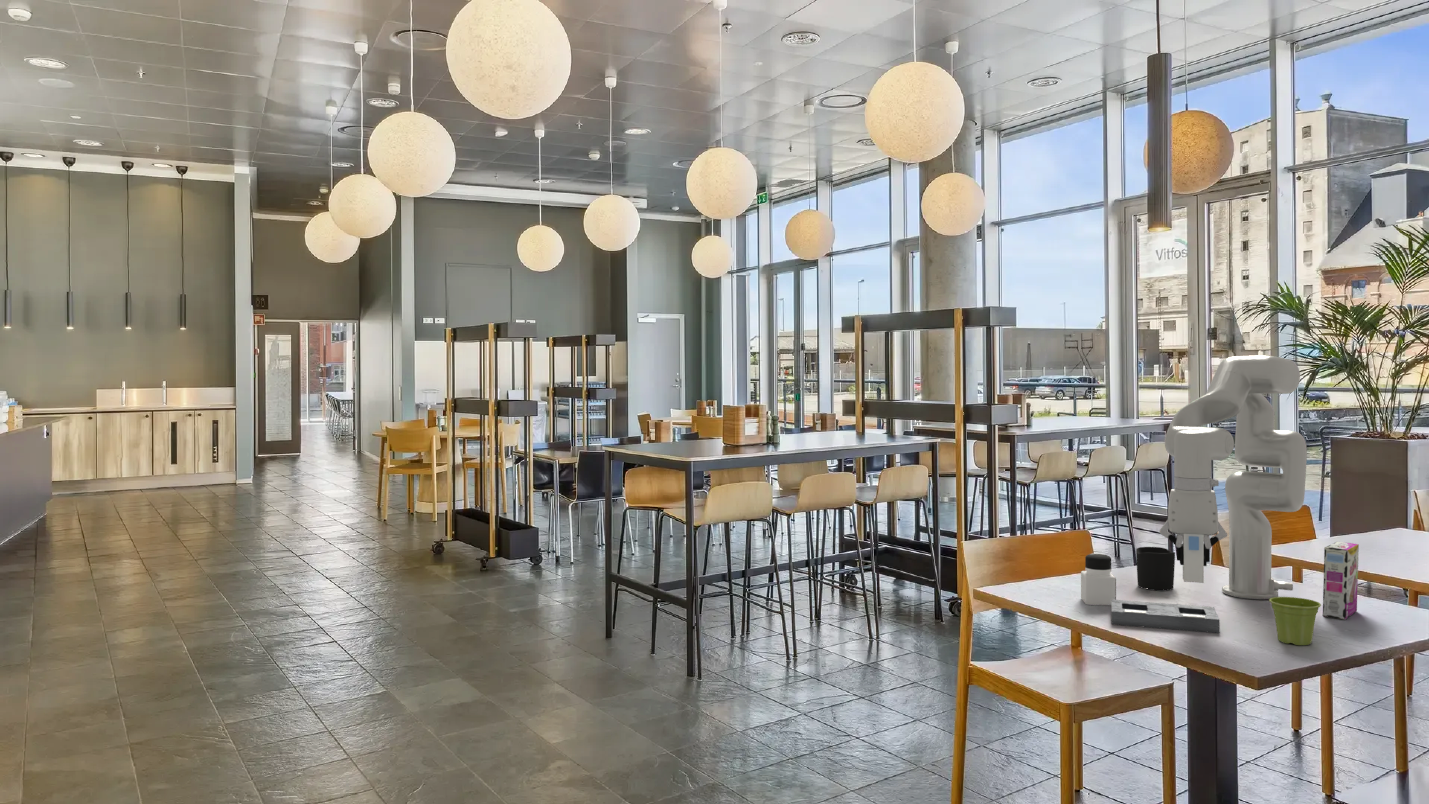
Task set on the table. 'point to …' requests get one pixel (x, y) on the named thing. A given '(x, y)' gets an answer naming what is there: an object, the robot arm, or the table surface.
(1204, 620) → the jack panel
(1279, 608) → the plant pot
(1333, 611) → the candy bar box
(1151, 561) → the pen holder
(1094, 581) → the medicine bottle
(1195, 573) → the plug
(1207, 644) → the table surface
